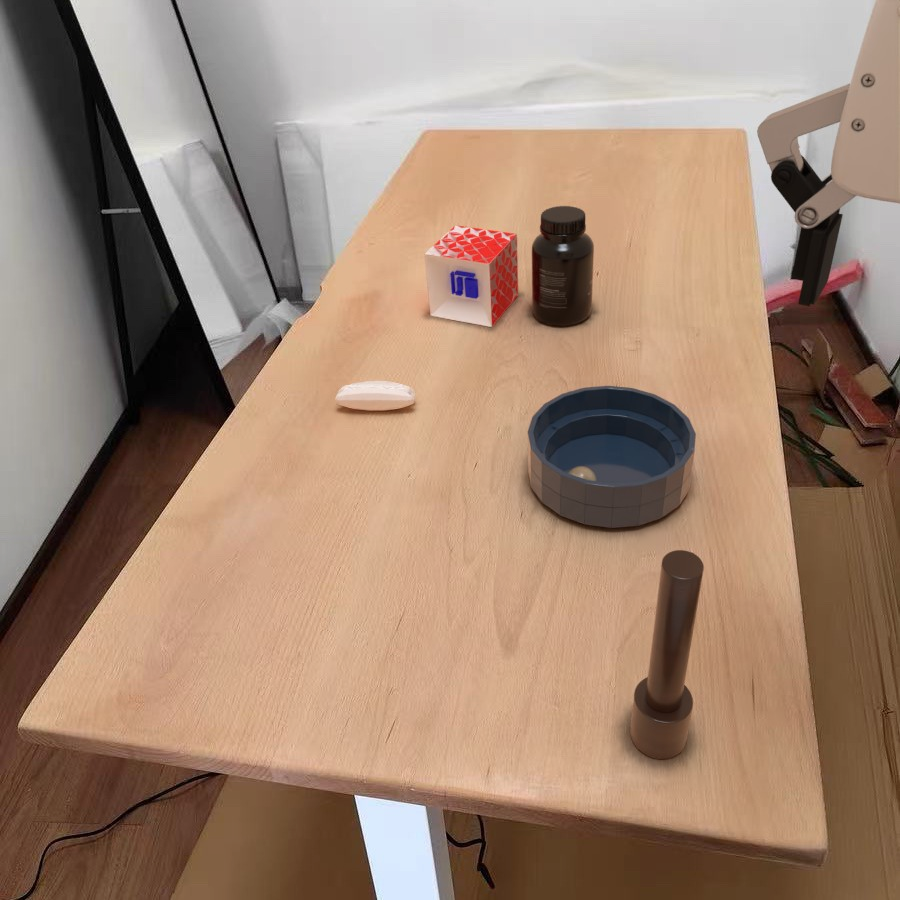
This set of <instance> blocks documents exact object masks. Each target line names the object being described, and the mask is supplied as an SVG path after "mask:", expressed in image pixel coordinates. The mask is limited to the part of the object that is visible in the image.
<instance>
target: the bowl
mask: <svg viewBox="0 0 900 900" xmlns="http://www.w3.org/2000/svg"><path fill="white" fill-rule="evenodd" d="M696 439H697V434H696V431H695V428H694V427H693V424H692V422H691V419H690V418H689V417H688V416H687V415H686V414H685V413H684V412H683V411H682V409H680V408H679V407H678V406H677V405H676V404H674V403H672V402H671V401H668V400H667V399H665V398H663V397H661V396H660V395H657V394H655V393H652V392H648V391H644V390H641V389H637V388H634V387H626V386H615V385H600V386H587V387H581V388H577V389H574V390H571V391H567V392H564V393H561V394H559V395H557V396H555V397H554V398H552V399H550V400H548V401H546V402H545V403H543V404H542V406H540V408H539V409H538V410H536V412H535V413H534V414H533V415H532V417H531V419H530V423H529V426H528V429H527V474H528V478H529V484H530V488H531V489H532V491H533V492H534V494H535V495H536V496H537V498H538V499H539V501H540V502H541V503H542V504H543V505H545V506H546V507H547V508H549V509H551V511H554V512H555V513H556V514H557V515H559V516H561V517H562V518H566V519H569V520H570V521H571V520H572V521H573V522H577V523H579V524H583V525H586V526H594V527H602V528H610V529H613V528H614V529H615V528H626V527H639V526H642V525H645V524H648V523H651V522H654V521H657V520H660V519H663V518H664V517H665V516H667V515H668V514H669V513H671V512H672V511H674V510H675V509H677V508H678V507H679V506H681V504H682V502H683V500H684V498H686V495H687V494H688V493H689V491H690V485H691V478H692V472H693V466H694V465H693V464H694V458H695V450H696ZM578 466H584V467H587V468H589V469H591V470H592V471H593V472H594V474H595V476H596V481H591V480H586V479H583V478H580V477H577V476H574V475H571V474H568V473H569V472H570V470H572V469H573V468H575V467H578Z"/></svg>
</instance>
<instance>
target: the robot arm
mask: <svg viewBox="0 0 900 900" xmlns="http://www.w3.org/2000/svg"><path fill="white" fill-rule="evenodd" d="M838 123H839V125H838V128H837V132H836V137H835V141H834V146H833V150H832V157H831V165H830V166H831V167H830V173H829V174H828V175H827V176H825V177H824V178H822V179H821V178H820V177H819V176H818V174H817V172H816V171H815V170H814V168H813V167H812V166H811V165H810V164H809V162H808V161H807V159H806V158H805V157H804V156H803V155H802V154H801V151H800V145H799V139H798V138H799V137H801V136H804V135H807V134H810V133H813V132H815V131H818V130H821V129H824V128H826V127H827V128H828V127H830V126H833V125H835V124H838ZM756 132H757V137H758V140H759V143H760V146H761V150H762V152H763V155H764V157H765V161H766V164H767V165H768V166H769V169H770V172H771V173H770V180H771V183H772V184H773V186H774V187H775V189H776V190H777V191H778V192H779V194H780V195H781V196H782V197H783V199H784V200H785V201H786V203H787V204H788V206H789V207H790V208H791V209H792V211H793V212H794V221H795V223H796V224H797V226H799V227H800V231H799V236H798V241H797V247H796V252H795V257H794V263H793V267H792V272H791V279H792V280H796V281H800V282H802V283H801V288H800V292H799V296H798V297H799V298H798V303H797V304H798V305H799V306H804V307H810V306H811V305H815V304H816V303H817V301H818V299H819V298H820V296H821V293H822V292H823V291H824V289H825V287H826V285H827V283H828V281H829V278H830V274H831V269H832V265H833V260H834V256H835V252H836V247H837V242H838V238H839V233H840V229H841V225H842V220H843V216H844V215H843V213H840V211H841V208H842V207H844V206H845V205H846V204H847V203H849V202H850V201H851V200H853V199H854V198H856V197H860V198H865V199H869V200H876V201H881V202H888V203H893V204H900V0H875V2H874V4H873V8H872V10H871V14H870V17H869V20H868V23H867V26H866V29H865V32H864V35H863V38H862V41H861V45H860V48H859V52H858V55H857V59H856V62H855V65H854V68H853V73H852V76H851V80H850V82H849V83H847V84H844V85H842V86H840V87H837V88H835V89H832V90H829V91H827V92H823V93H822V94H819V95H816V96H814V97H811V98H809V99H806V100H804V101H801V102H798V103H795V104H792V105H790V106H787V107H785V108H782V109H780V110H777V111H775V112H772V113H770V114H769V115H768V116H767V117H765V118H764V120H763V121H761V123H760V124H759V125H758V126H757V130H756Z"/></svg>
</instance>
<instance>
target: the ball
mask: <svg viewBox="0 0 900 900" xmlns="http://www.w3.org/2000/svg"><path fill="white" fill-rule="evenodd" d="M568 474H571V475H574V476H577V477H580V478H583V479H586V480H591V481H596V476H595V474H594V472H593V471H592V470H591V469H589V468H587V467H584V466H578V467H575V468H573V469H572V470H570V472H569V473H568Z"/></svg>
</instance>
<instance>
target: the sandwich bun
mask: <svg viewBox="0 0 900 900" xmlns="http://www.w3.org/2000/svg"><path fill="white" fill-rule="evenodd" d="M415 396H416V392H415V389H413V388H412V387H411V386H408V385H405V384H404V383H403V384H402V383H399V382H393V381H389V380H366V381H359V382H353V383H350V384H345V385H343V386H342V387H341V388H340V389H339V390H338V391H337V393H336V396H335V398H334V402H335V403H336V404H337V405H339V406H342V407H345V408H349V409H351V410H352V409H353V410H360V411H368V412H369V411H371V412H374V411H376V412H378V411H379V412H381V411H391V410H392V411H393V410H398V409H403V408H406V407H408V406H412V405H413V404H415Z"/></svg>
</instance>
